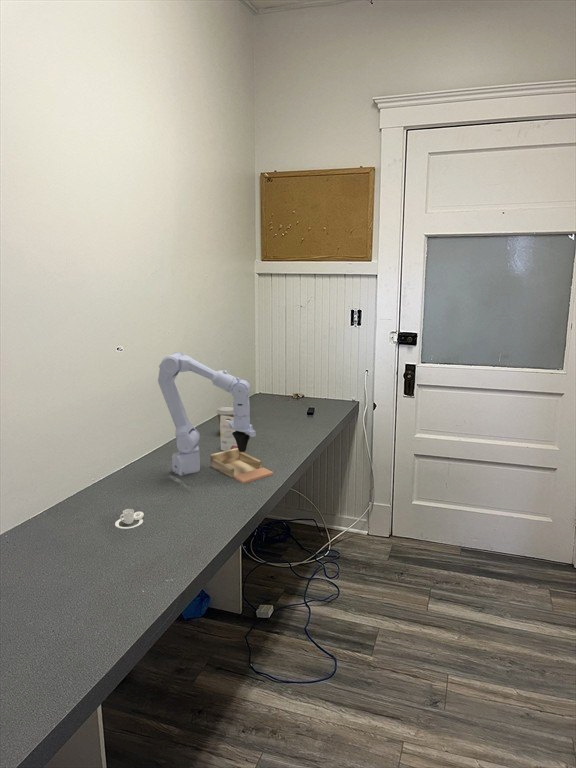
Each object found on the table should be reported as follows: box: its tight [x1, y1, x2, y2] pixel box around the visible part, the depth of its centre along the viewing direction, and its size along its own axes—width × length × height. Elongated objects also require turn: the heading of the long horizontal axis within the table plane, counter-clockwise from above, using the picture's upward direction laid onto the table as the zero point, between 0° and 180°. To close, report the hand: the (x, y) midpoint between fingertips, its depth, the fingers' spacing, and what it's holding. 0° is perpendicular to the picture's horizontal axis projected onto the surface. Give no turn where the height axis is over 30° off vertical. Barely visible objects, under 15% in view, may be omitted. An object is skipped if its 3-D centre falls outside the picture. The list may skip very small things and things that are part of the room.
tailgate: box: [233, 467, 274, 484], centre depth 197 cm, size 13×2×6 cm
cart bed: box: [209, 448, 263, 478], centre depth 205 cm, size 13×14×6 cm
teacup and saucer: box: [114, 508, 145, 530], centre depth 166 cm, size 9×8×4 cm
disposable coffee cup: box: [216, 405, 234, 425], centre depth 248 cm, size 10×10×12 cm
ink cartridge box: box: [219, 415, 238, 452], centre depth 227 cm, size 9×5×15 cm, turn 62°
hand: (242, 451), depth 200 cm, fingers closed
